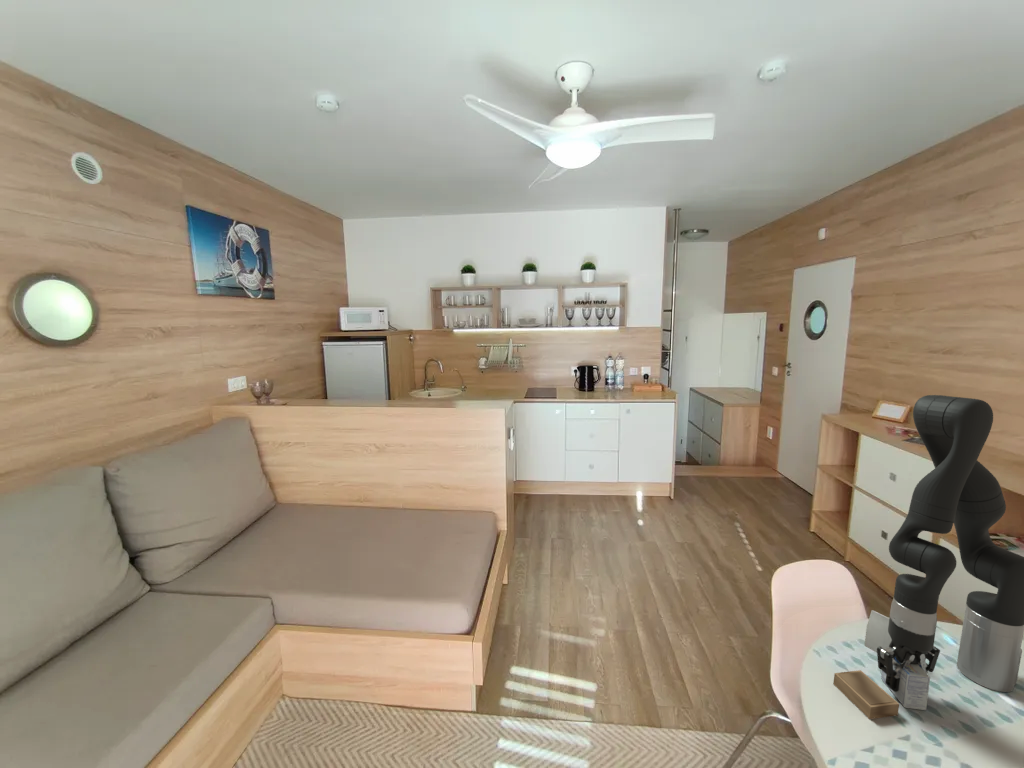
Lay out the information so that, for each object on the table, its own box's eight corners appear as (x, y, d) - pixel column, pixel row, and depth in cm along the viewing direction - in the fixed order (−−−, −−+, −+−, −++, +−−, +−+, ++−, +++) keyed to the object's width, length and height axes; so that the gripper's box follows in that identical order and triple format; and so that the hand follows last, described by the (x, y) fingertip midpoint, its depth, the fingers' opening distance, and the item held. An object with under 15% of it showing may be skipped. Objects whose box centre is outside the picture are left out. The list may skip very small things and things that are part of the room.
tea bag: (896, 663, 105) (901, 628, 103) (864, 645, 110) (868, 612, 109) (902, 658, 106) (907, 623, 105) (870, 640, 112) (874, 607, 111)
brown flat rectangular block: (859, 681, 100) (860, 669, 99) (897, 715, 91) (899, 703, 90) (833, 684, 99) (834, 672, 98) (869, 719, 90) (870, 706, 89)
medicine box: (926, 711, 92) (931, 677, 90) (903, 708, 92) (908, 674, 91) (901, 681, 99) (905, 650, 98) (879, 678, 100) (884, 647, 99)
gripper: (922, 608, 98) (913, 670, 100) (868, 613, 96) (860, 676, 98) (959, 631, 90) (948, 698, 93) (901, 637, 89) (892, 705, 91)
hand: (903, 686), depth 95 cm, fingers closed on medicine box, 5 cm apart
